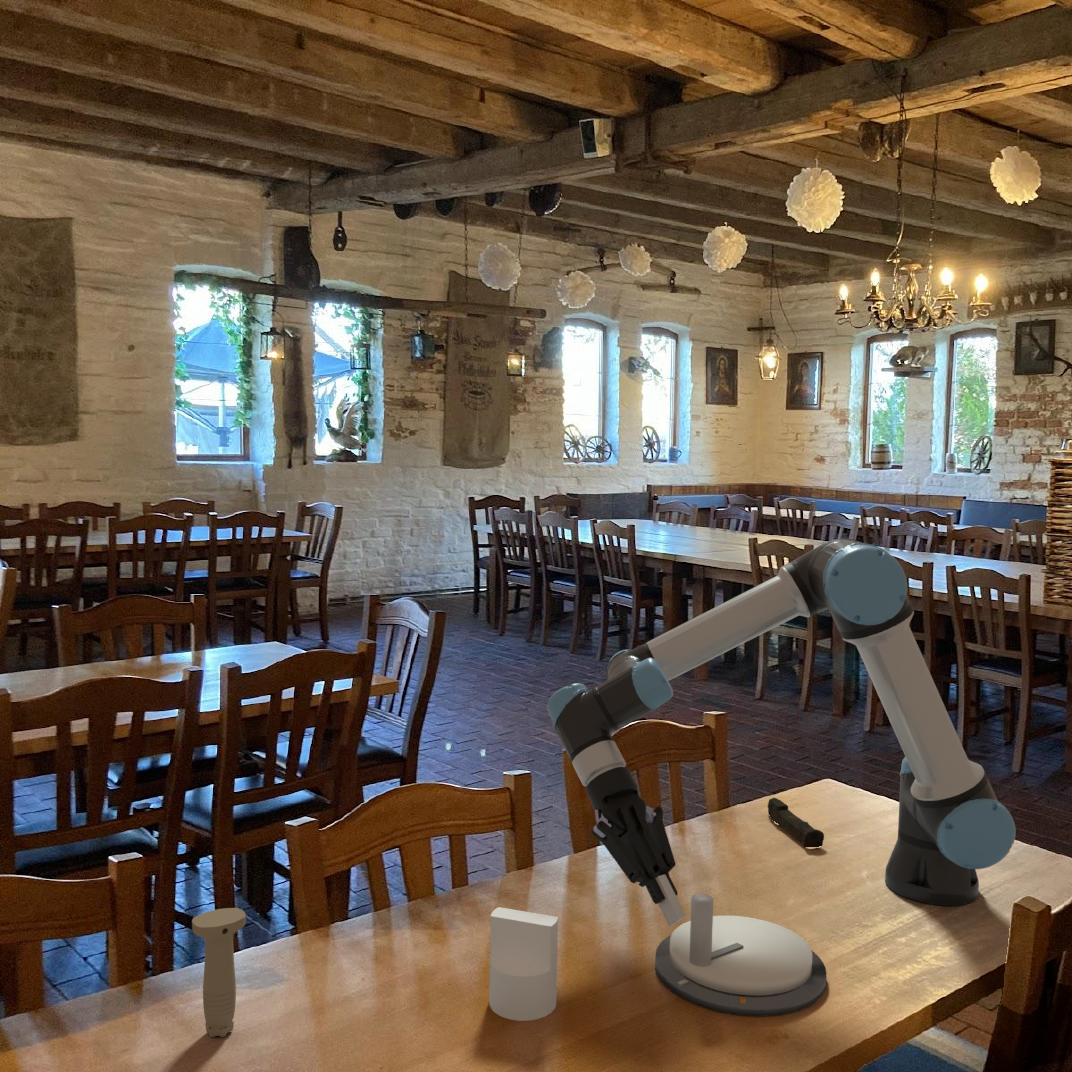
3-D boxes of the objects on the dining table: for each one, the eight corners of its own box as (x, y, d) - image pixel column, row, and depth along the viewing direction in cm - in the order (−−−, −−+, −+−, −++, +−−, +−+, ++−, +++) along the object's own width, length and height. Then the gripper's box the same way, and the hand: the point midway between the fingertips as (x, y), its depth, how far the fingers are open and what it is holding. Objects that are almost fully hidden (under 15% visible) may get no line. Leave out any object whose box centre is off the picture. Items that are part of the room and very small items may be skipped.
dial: (736, 916, 166) (738, 848, 165) (841, 968, 150) (844, 893, 149) (640, 950, 154) (642, 877, 153) (743, 1010, 138) (746, 929, 137)
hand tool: (824, 850, 200) (825, 826, 200) (804, 852, 199) (805, 827, 199) (781, 816, 219) (782, 794, 218) (763, 817, 218) (764, 795, 217)
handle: (188, 1030, 134) (187, 916, 133) (238, 1016, 138) (238, 904, 137) (199, 1049, 130) (199, 931, 129) (251, 1033, 134) (250, 918, 133)
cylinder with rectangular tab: (564, 993, 146) (566, 908, 145) (543, 1026, 137) (545, 936, 136) (503, 981, 148) (504, 898, 147) (479, 1013, 140) (480, 925, 139)
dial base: (787, 930, 166) (788, 918, 166) (855, 1010, 142) (855, 998, 142) (637, 937, 162) (638, 926, 162) (681, 1021, 139) (681, 1008, 139)
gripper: (625, 782, 171) (696, 921, 159) (561, 796, 163) (630, 943, 151) (649, 758, 166) (723, 899, 154) (584, 771, 158) (657, 921, 146)
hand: (677, 921), depth 152 cm, fingers closed
